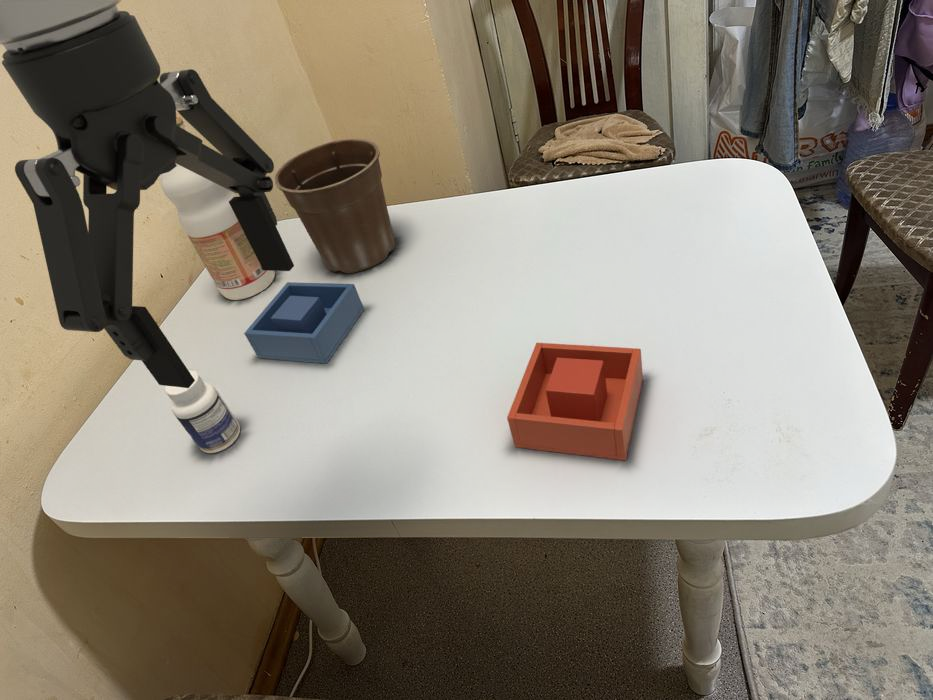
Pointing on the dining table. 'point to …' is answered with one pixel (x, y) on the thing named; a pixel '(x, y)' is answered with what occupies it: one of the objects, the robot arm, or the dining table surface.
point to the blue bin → (304, 346)
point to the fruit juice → (215, 232)
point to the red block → (577, 389)
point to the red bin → (575, 435)
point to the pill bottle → (204, 415)
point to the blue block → (299, 315)
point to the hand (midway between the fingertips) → (232, 320)
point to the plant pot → (341, 202)
